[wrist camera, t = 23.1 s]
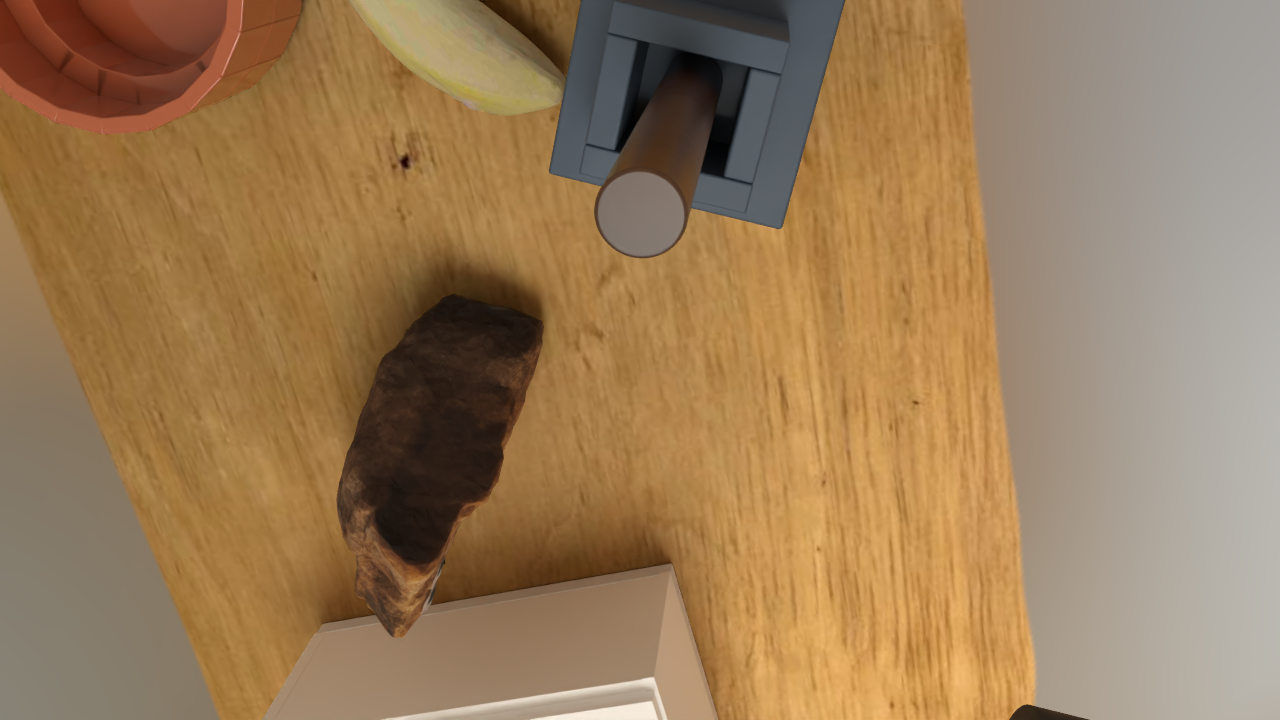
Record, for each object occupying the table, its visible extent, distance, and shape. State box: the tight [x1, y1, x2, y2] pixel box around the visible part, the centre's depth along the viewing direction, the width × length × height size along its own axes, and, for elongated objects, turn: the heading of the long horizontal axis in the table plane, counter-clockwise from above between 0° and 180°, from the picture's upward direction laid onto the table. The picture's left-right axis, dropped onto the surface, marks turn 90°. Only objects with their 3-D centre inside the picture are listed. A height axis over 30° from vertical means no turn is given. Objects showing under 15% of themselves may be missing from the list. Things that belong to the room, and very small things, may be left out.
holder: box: [549, 0, 845, 229], centre depth 36 cm, size 7×7×16 cm
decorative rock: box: [337, 294, 544, 638], centre depth 46 cm, size 12×6×11 cm, turn 154°
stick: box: [594, 52, 723, 258], centre depth 26 cm, size 2×2×14 cm
